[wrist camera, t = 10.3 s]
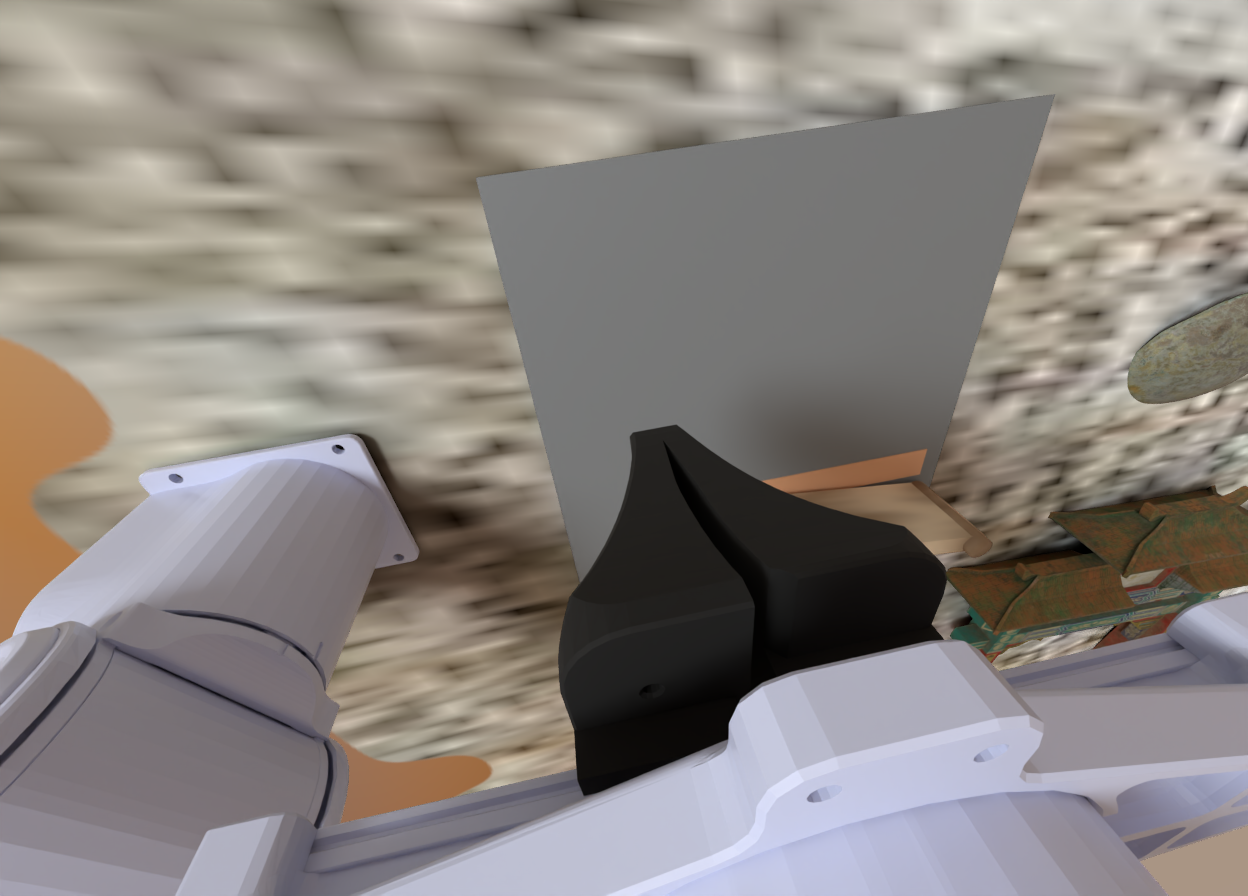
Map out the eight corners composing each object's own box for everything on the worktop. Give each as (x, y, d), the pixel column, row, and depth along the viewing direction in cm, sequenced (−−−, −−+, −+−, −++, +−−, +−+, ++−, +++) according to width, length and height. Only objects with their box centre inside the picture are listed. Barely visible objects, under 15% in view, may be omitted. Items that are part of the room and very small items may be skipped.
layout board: (603, 672, 34) (615, 761, 29) (477, 177, 16) (450, 186, 11) (882, 611, 35) (939, 686, 30) (1040, 96, 18) (1234, 72, 13)
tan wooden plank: (724, 515, 26) (760, 583, 22) (727, 498, 25) (764, 565, 21) (918, 495, 28) (985, 556, 23) (925, 479, 27) (996, 539, 23)
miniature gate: (890, 765, 44) (1052, 564, 26) (857, 705, 48) (976, 498, 30) (1135, 712, 46) (1439, 496, 28) (1083, 660, 51) (1318, 444, 33)
